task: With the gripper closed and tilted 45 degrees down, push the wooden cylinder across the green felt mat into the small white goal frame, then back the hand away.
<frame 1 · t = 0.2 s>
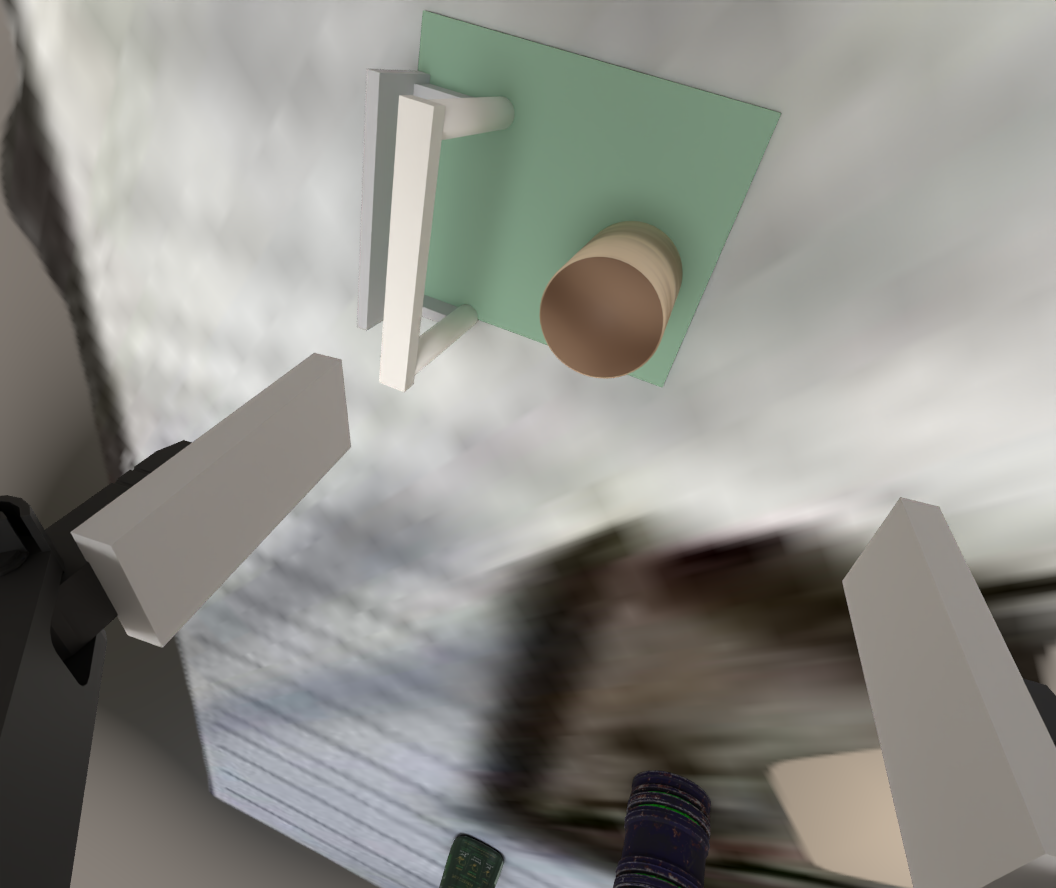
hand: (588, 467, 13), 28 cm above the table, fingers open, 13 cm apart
pitch: (556, 217, 37), on the table
storage jar: (670, 792, 70), on the table
coffee jar: (480, 847, 99), on the table
goal: (482, 225, 39), resting on pitch
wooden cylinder: (629, 275, 37), resting on pitch
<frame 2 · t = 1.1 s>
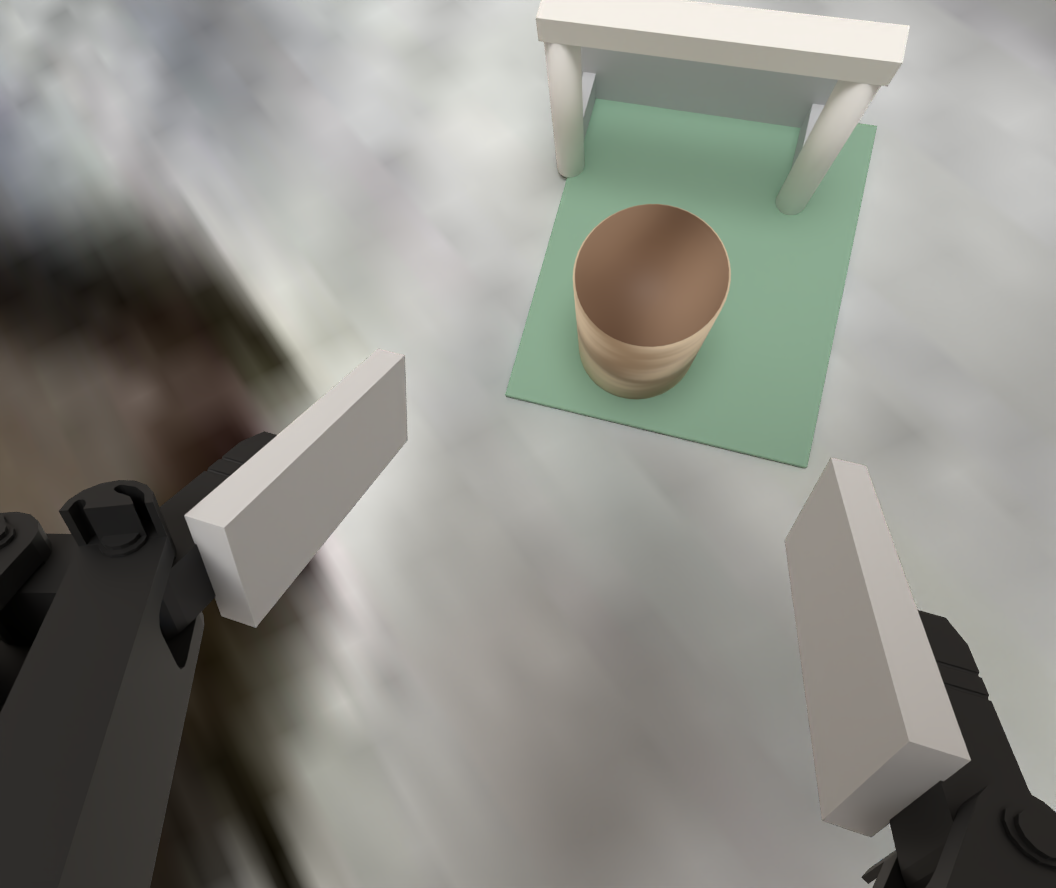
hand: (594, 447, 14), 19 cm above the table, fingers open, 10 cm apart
pitch: (690, 263, 35), on the table
goal: (677, 182, 35), resting on pitch
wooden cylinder: (636, 343, 34), resting on pitch
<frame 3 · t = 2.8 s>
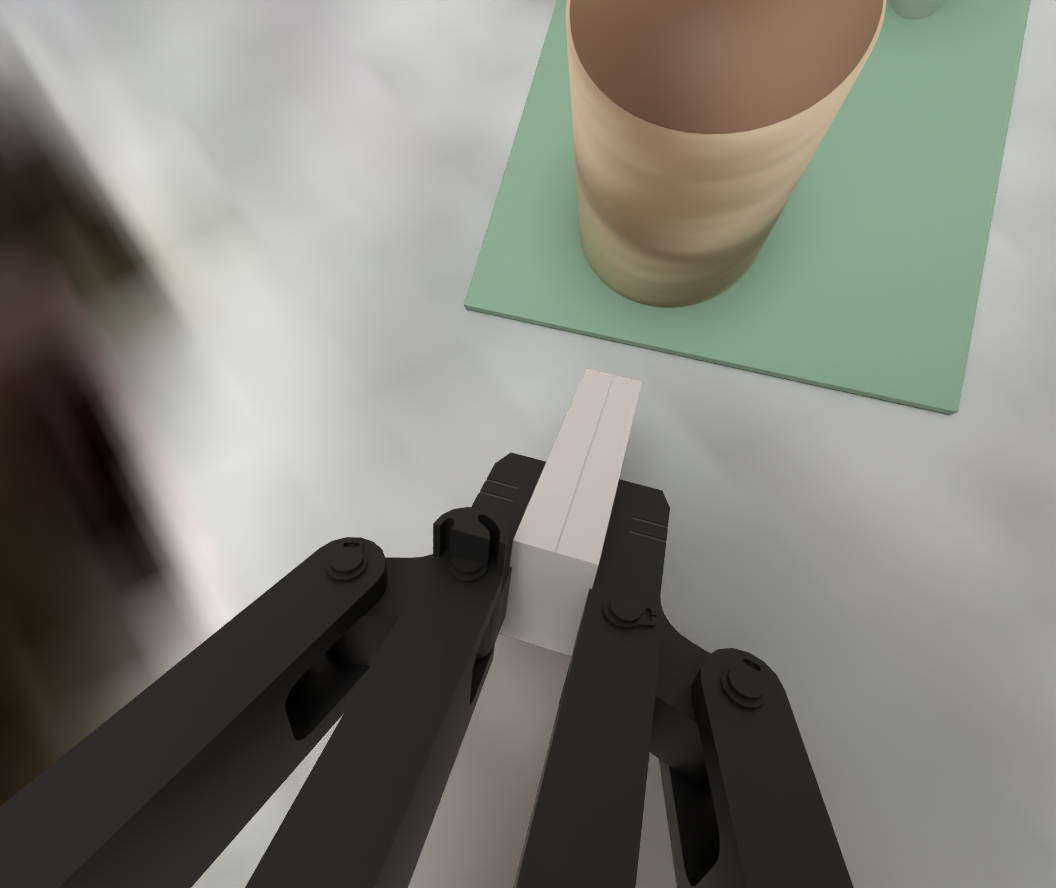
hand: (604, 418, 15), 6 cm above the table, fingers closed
pitch: (753, 101, 22), on the table
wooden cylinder: (670, 222, 21), resting on pitch
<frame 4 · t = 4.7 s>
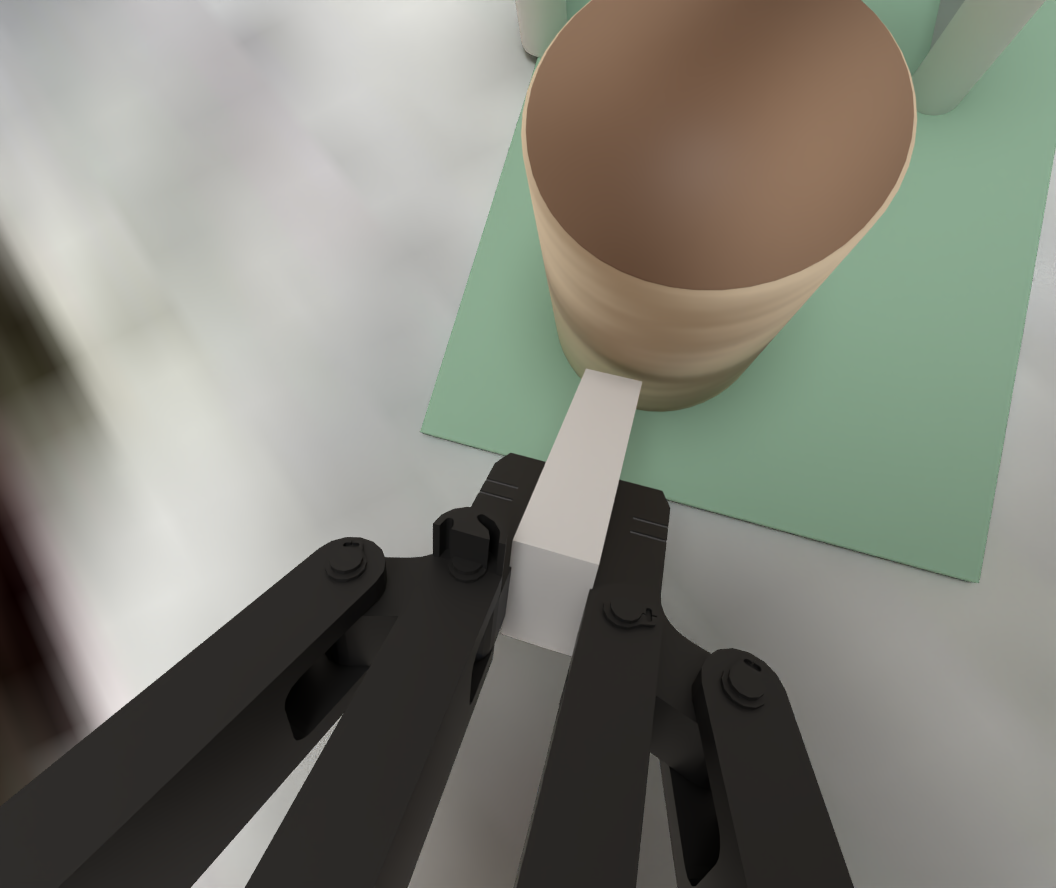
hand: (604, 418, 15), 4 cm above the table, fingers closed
pitch: (750, 202, 20), on the table
goal: (728, 62, 20), resting on pitch
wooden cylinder: (657, 312, 19), resting on pitch
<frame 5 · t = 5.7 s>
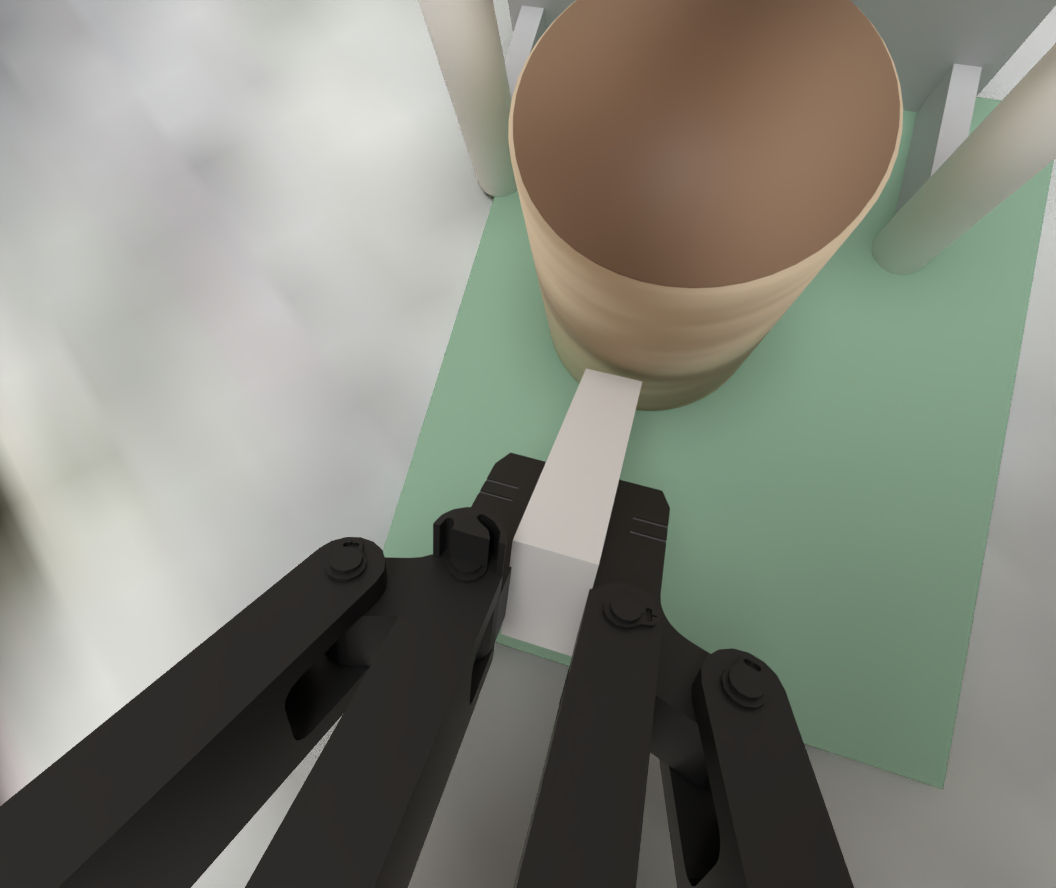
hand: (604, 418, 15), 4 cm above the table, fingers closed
pitch: (711, 359, 19), on the table
goal: (689, 209, 19), resting on pitch
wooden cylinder: (650, 311, 19), resting on pitch, touching gripper
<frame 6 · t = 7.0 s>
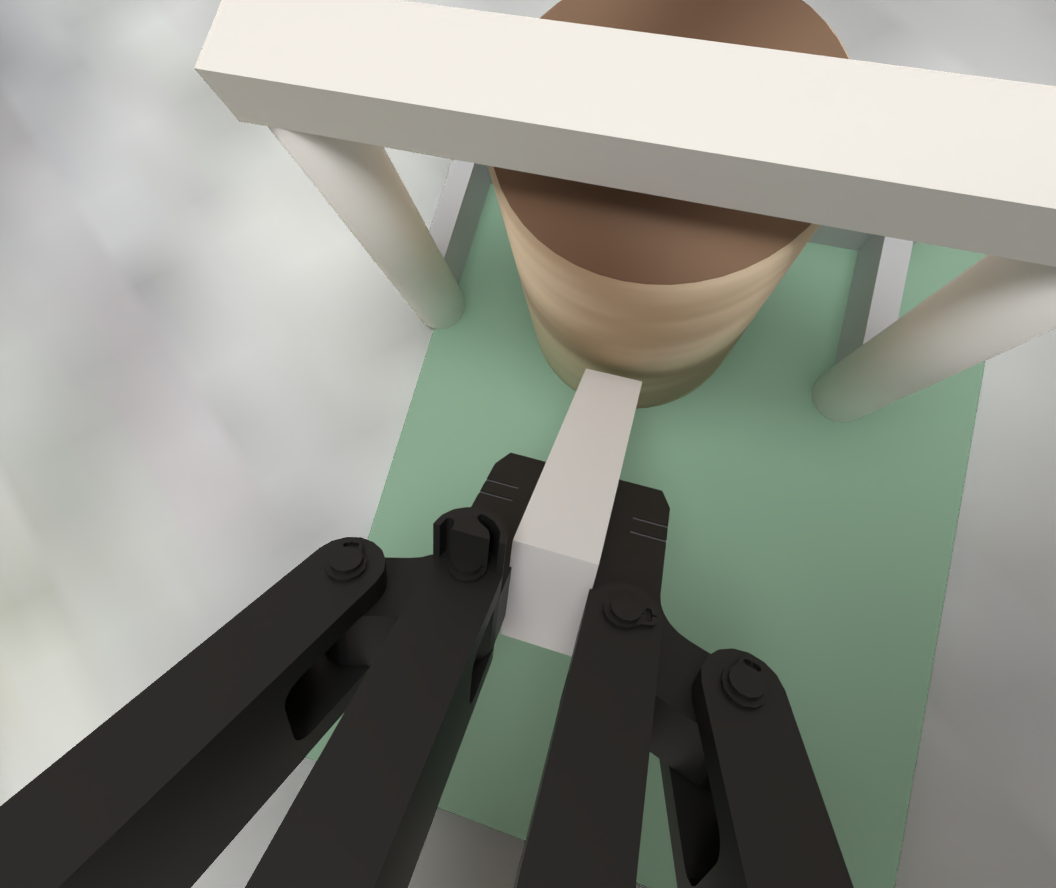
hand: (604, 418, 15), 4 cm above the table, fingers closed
pitch: (650, 504, 19), on the table
goal: (629, 348, 19), resting on pitch
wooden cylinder: (633, 311, 19), resting on pitch
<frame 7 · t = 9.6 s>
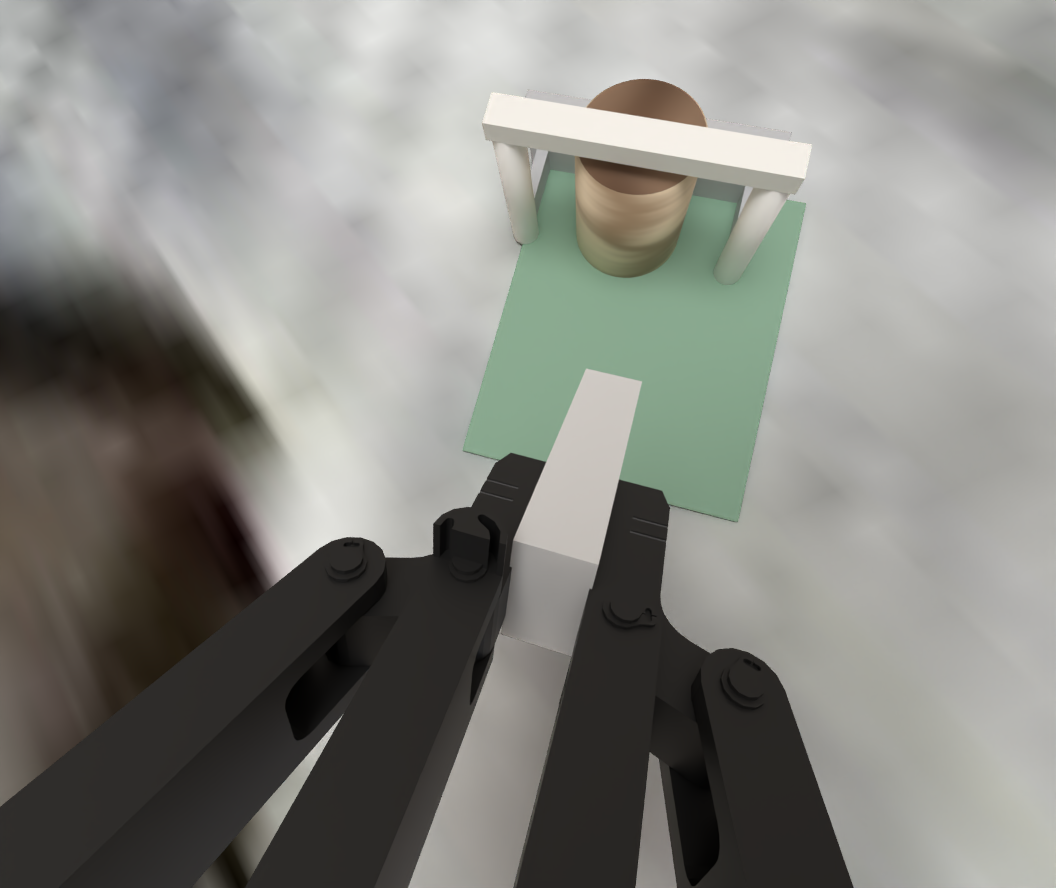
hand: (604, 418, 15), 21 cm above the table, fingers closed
pitch: (635, 327, 37), on the table
goal: (624, 251, 38), resting on pitch
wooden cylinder: (627, 230, 38), resting on pitch
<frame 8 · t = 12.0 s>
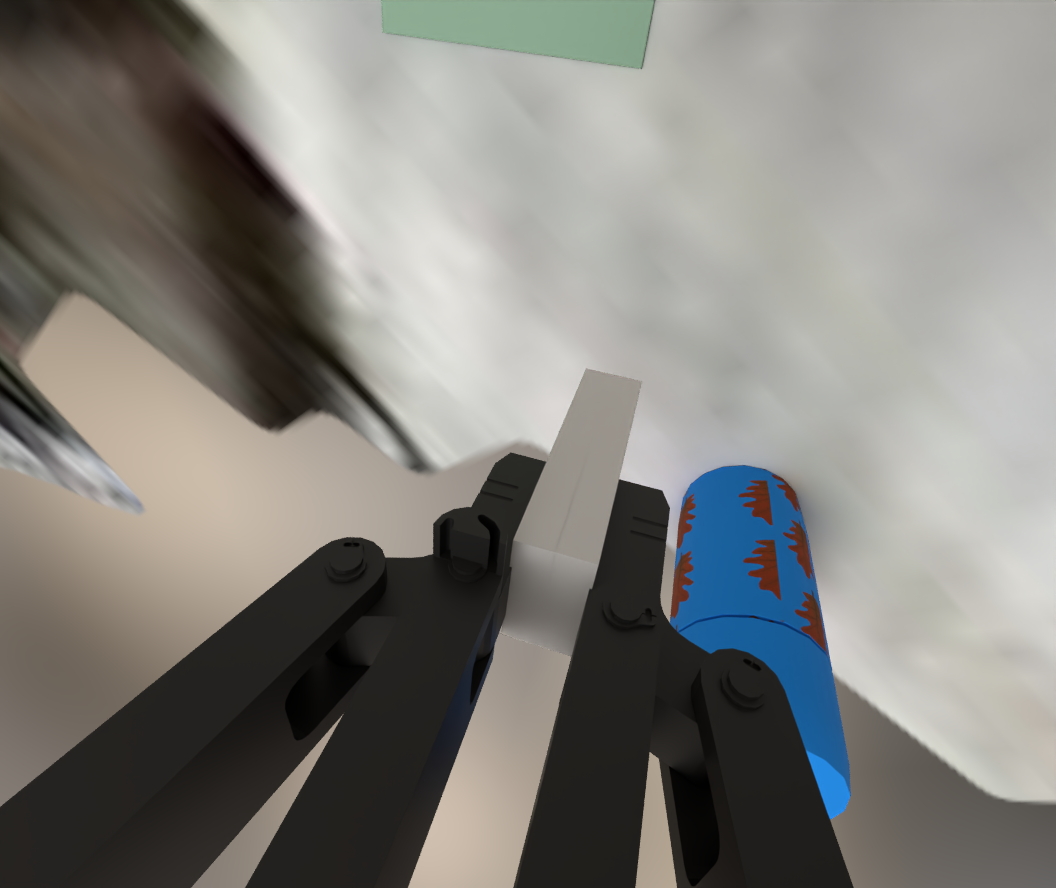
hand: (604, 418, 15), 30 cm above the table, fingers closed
thermos: (738, 508, 53), on the table
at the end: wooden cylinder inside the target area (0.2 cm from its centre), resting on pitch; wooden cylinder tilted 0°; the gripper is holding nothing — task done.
